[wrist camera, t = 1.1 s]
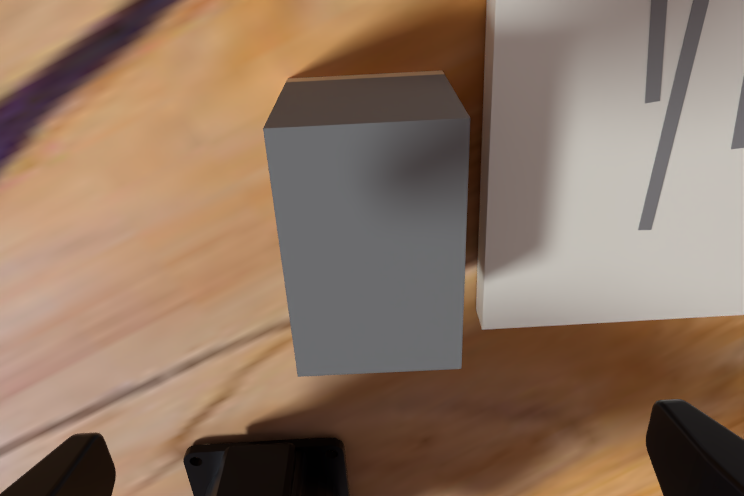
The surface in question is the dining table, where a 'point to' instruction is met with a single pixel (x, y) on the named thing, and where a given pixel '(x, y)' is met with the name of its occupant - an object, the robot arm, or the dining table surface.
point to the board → (611, 162)
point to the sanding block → (371, 220)
